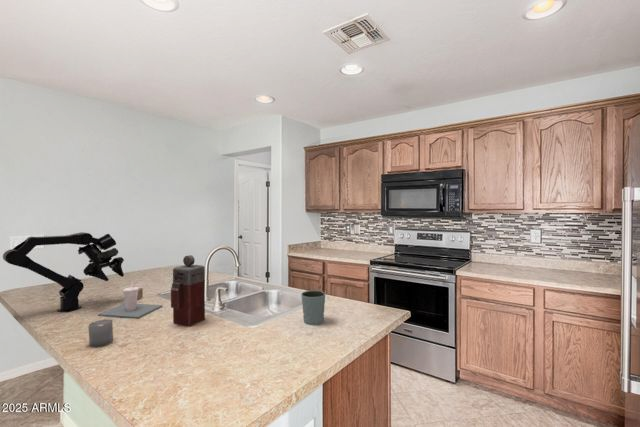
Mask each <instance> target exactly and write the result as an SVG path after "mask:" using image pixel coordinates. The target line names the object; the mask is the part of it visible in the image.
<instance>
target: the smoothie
mask: <svg viewBox="0 0 640 427" xmlns="http://www.w3.org/2000/svg"><path fill="white" fill-rule="evenodd" d="M139 288H140V287H138V286H134V279H131V286H130V287H126V288H123V290H122V292H123V295H124V303H126V310H127V311H132V310H135V309H136V304H138V303H137V301H138V300H137V296H138V290H139Z"/></svg>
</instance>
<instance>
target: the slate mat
mask: <svg viewBox="0 0 640 427" xmlns="http://www.w3.org/2000/svg"><path fill="white" fill-rule="evenodd" d="M161 308H163V304H149V303H137V304H136V309H135V310H132V311H127V310H126V303H125V302H124V303H122V304H120V305H116V306H114V307H112V308H110V309H107V310H104V311H102V312H99V313H97V317H108V318H120V319H121V318H123V319H137V320H138V319H140V318H142V317H144V316H145V317H146V316H147V315H149V314H151V313H153V312H155V311H157V310H159V309H161Z"/></svg>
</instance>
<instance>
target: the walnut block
mask: <svg viewBox="0 0 640 427" xmlns="http://www.w3.org/2000/svg"><path fill="white" fill-rule="evenodd" d="M138 288H139V290H138V296H137V301H140V300H141V299H142V298H143V294H144V293H143V292H144V291H143V290H144V289H143V287H141V288H140V287H138Z"/></svg>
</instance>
